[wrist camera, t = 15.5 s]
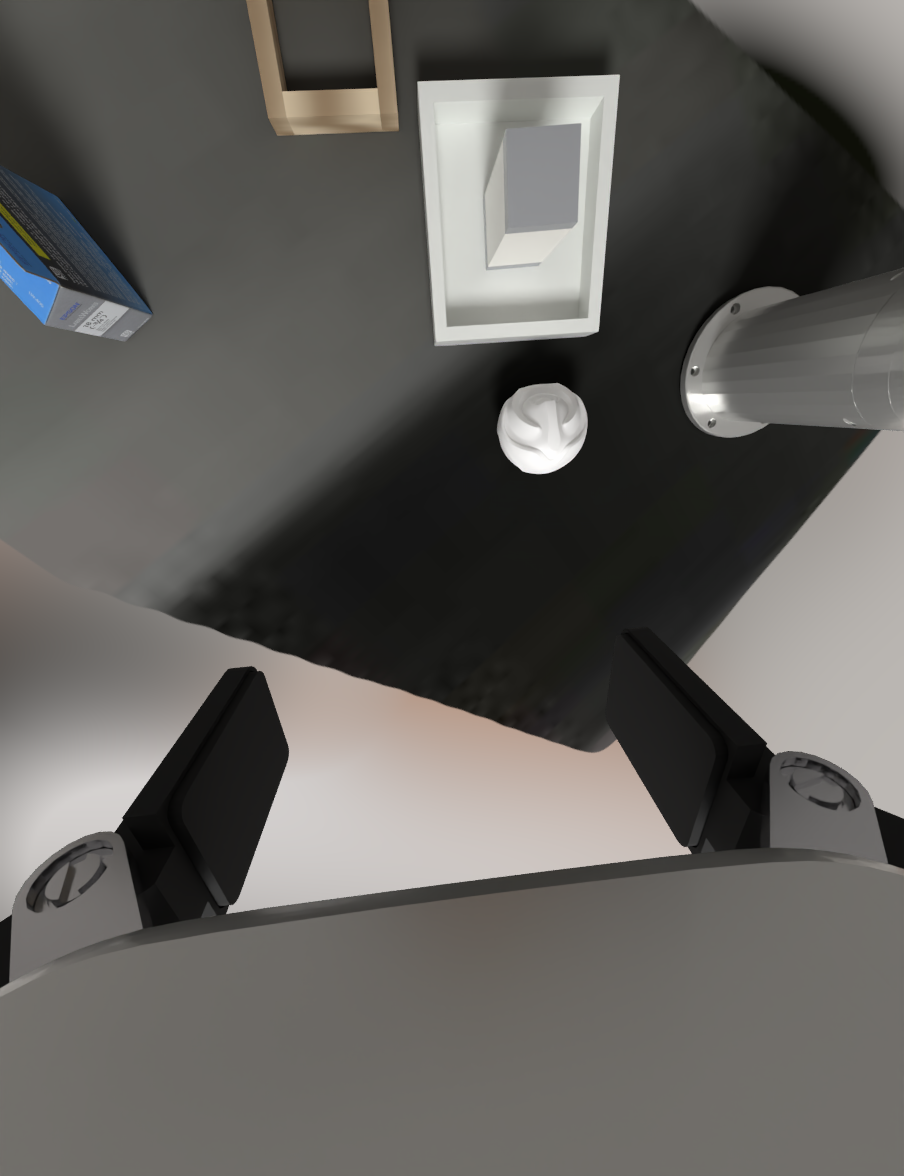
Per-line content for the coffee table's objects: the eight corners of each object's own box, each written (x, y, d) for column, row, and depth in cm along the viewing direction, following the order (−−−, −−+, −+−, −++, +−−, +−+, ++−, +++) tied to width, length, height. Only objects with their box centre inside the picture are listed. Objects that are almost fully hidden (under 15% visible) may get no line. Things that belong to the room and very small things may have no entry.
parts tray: (601, 104, 30) (619, 74, 27) (584, 336, 36) (598, 331, 34) (417, 111, 29) (417, 81, 26) (434, 346, 36) (435, 341, 33)
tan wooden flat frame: (382, -63, 26) (379, -98, 24) (398, 130, 30) (397, 113, 28) (241, -61, 25) (228, -96, 23) (277, 135, 29) (268, 118, 27)
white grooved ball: (569, 379, 38) (603, 374, 31) (569, 461, 41) (600, 473, 34) (487, 391, 38) (503, 389, 31) (493, 472, 41) (509, 486, 34)
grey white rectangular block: (538, 195, 31) (581, 123, 23) (538, 265, 33) (577, 222, 25) (482, 199, 31) (506, 128, 23) (485, 270, 33) (508, 227, 25)
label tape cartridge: (24, 229, 30) (-204, 128, 19) (58, 194, 30) (-158, 69, 18) (125, 343, 34) (-18, 315, 23) (157, 315, 33) (26, 271, 22)
